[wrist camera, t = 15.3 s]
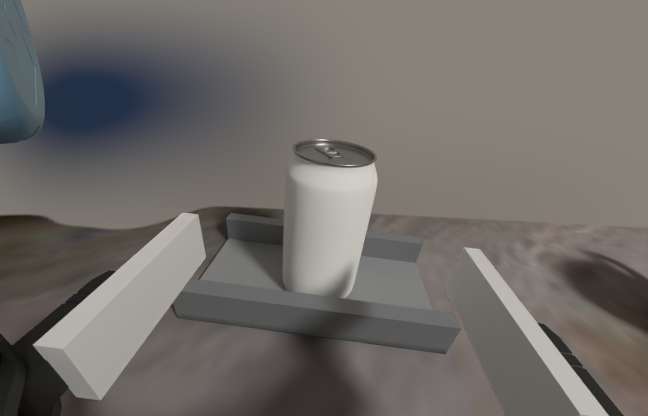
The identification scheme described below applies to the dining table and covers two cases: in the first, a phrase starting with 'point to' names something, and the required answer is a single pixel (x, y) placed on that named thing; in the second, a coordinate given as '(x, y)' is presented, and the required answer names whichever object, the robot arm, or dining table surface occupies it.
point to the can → (326, 215)
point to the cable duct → (315, 310)
